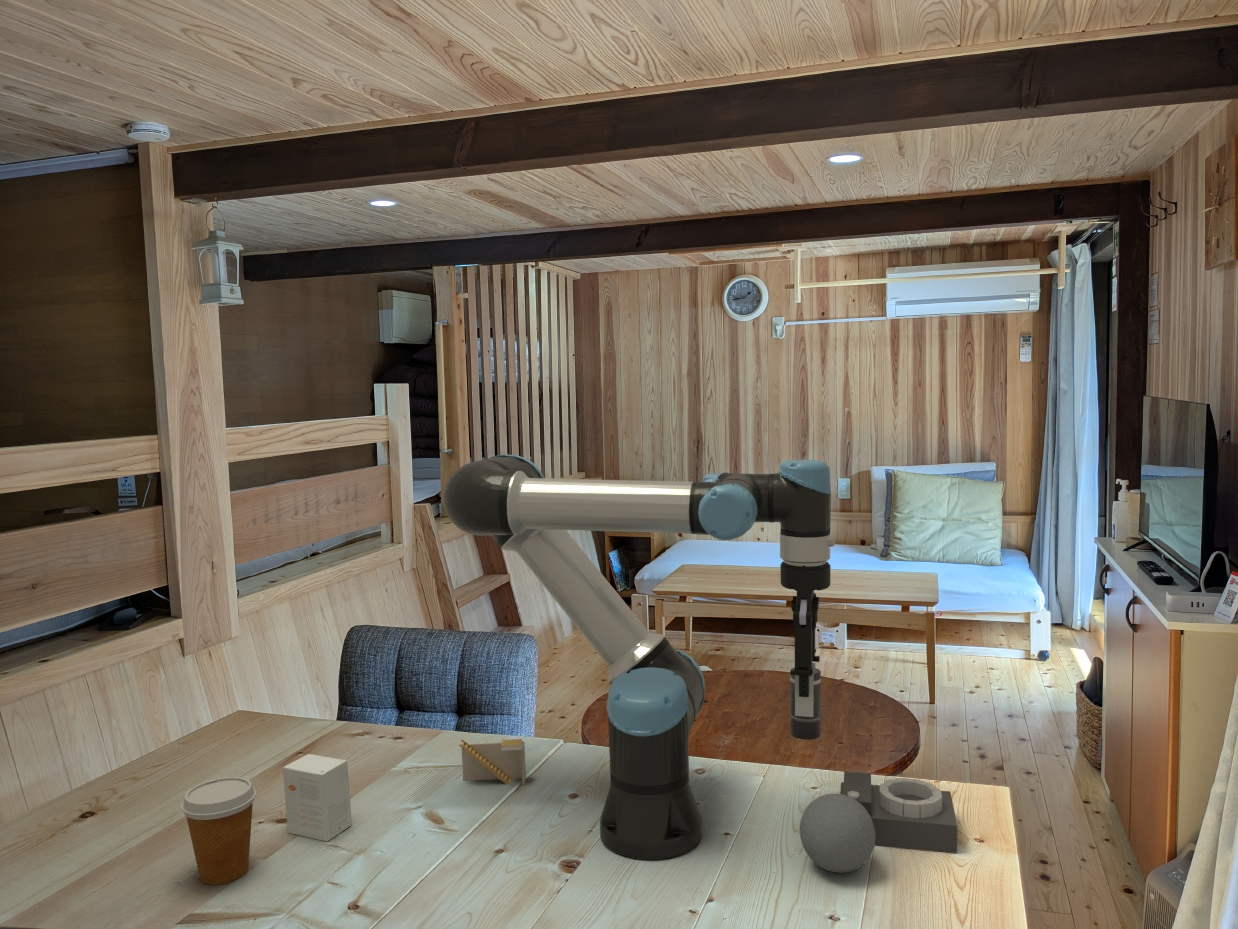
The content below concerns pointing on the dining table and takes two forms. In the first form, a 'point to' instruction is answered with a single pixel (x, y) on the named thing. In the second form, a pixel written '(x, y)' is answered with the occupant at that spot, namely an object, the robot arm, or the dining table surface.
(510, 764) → the model
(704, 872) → the dining table surface
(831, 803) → the decorative stone
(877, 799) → the camera body
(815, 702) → the lens
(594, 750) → the dining table surface
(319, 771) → the small box
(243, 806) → the disposable coffee cup
